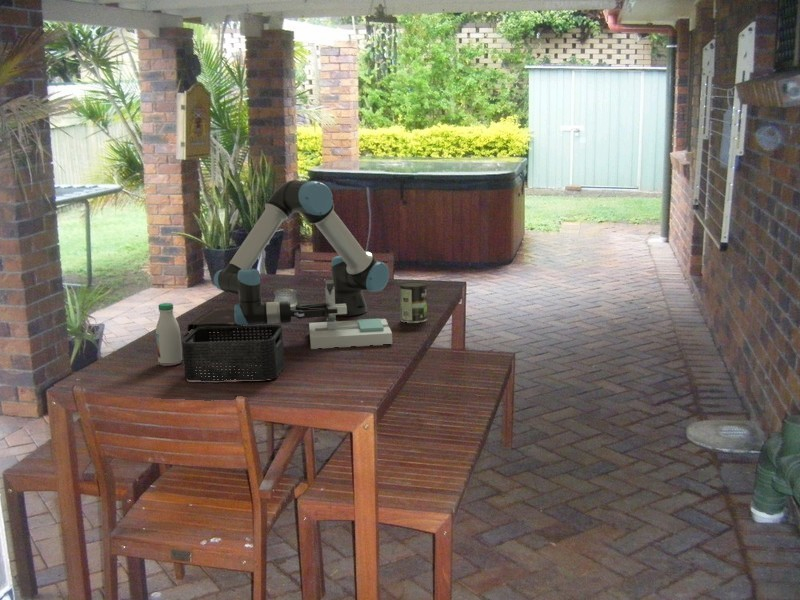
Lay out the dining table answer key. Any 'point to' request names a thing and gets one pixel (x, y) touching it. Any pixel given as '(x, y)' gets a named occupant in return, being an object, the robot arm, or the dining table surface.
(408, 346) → the dining table surface
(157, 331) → the milk bottle
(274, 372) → the storage bin
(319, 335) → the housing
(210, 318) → the diary
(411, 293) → the coffee can
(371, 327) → the cover
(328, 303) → the t key
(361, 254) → the robot arm
